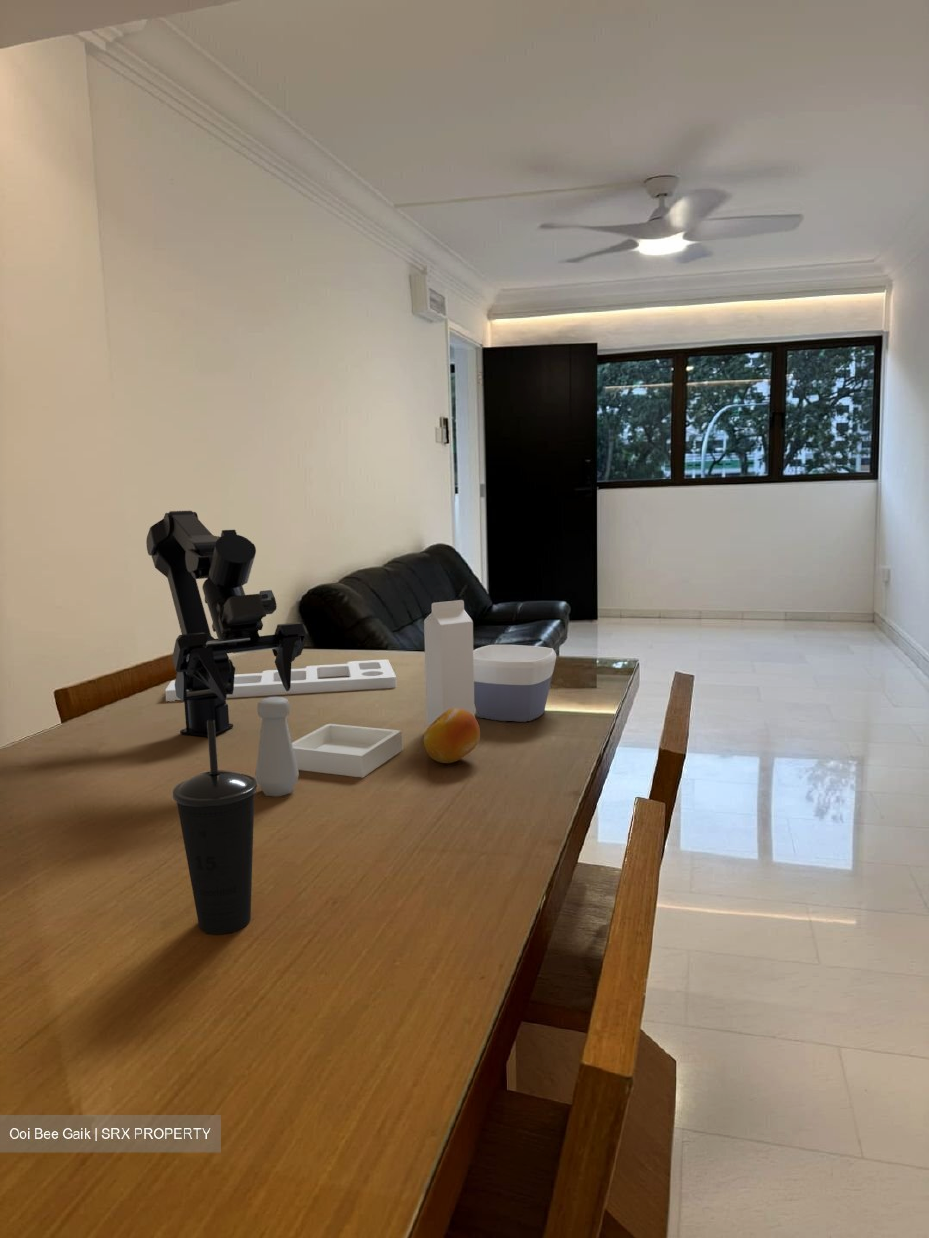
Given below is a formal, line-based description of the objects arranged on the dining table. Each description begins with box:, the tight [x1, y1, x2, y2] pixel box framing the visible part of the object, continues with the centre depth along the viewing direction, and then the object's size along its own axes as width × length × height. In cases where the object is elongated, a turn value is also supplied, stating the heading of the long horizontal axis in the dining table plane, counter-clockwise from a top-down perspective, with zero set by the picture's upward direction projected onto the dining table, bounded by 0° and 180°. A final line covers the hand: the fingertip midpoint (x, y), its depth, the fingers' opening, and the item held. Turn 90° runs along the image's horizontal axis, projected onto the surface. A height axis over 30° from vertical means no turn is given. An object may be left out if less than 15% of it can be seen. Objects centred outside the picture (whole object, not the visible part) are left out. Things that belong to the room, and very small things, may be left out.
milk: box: [423, 599, 476, 730], centre depth 142 cm, size 6×6×22 cm
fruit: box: [423, 708, 481, 764], centre depth 128 cm, size 8×9×8 cm
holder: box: [164, 659, 397, 702], centre depth 180 cm, size 45×18×3 cm, turn 100°
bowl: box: [473, 644, 557, 723], centre depth 154 cm, size 15×15×11 cm
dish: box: [292, 723, 403, 778], centre depth 131 cm, size 13×13×3 cm
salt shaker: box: [255, 696, 300, 797], centre depth 117 cm, size 6×6×13 cm
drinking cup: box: [172, 720, 258, 935], centre depth 82 cm, size 8×8×20 cm
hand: (257, 694), depth 122 cm, fingers open, 9 cm apart
